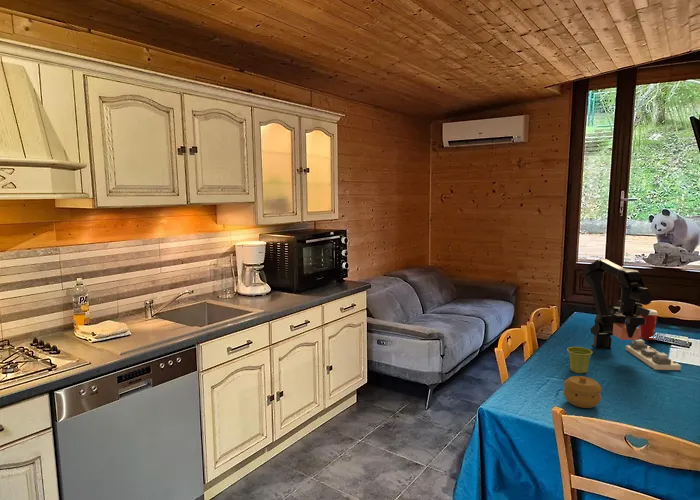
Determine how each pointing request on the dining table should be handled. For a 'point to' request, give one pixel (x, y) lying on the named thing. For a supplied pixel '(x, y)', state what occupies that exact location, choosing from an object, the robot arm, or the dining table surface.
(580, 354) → the plant pot
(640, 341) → the breaker left
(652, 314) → the paper cup
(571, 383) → the pot
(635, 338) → the terracotta orange block
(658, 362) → the breaker panel
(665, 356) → the breaker right
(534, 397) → the dining table surface
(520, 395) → the dining table surface
